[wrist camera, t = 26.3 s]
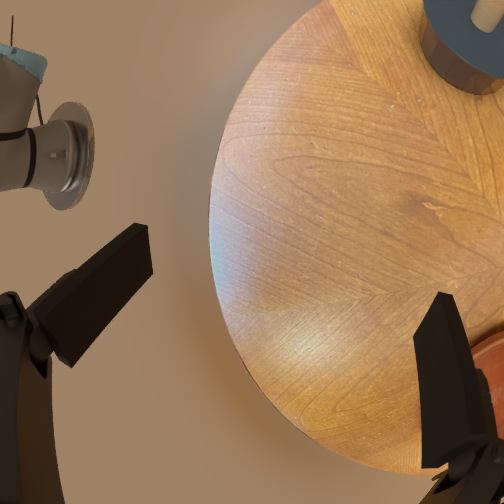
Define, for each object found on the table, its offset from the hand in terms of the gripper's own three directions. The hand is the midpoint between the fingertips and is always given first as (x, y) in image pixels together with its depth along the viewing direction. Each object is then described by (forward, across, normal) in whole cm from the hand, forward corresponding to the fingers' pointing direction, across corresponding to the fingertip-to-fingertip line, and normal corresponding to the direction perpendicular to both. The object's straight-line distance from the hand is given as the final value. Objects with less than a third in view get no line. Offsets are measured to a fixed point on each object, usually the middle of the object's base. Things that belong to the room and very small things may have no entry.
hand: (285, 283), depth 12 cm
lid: (+18, +14, +20) cm, 30 cm away
